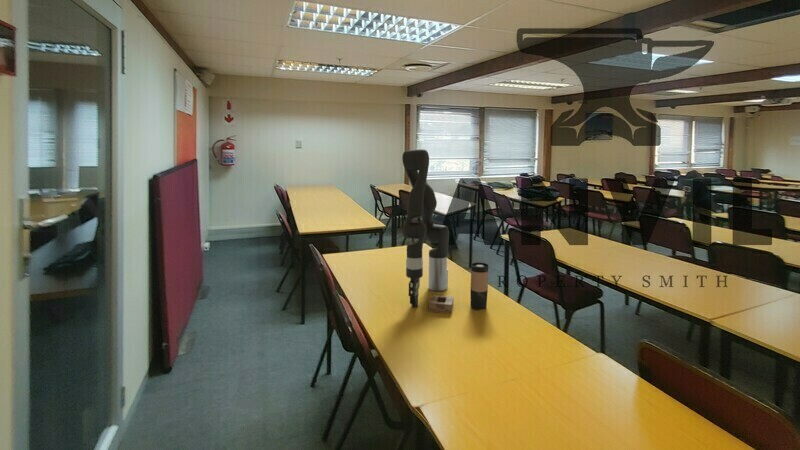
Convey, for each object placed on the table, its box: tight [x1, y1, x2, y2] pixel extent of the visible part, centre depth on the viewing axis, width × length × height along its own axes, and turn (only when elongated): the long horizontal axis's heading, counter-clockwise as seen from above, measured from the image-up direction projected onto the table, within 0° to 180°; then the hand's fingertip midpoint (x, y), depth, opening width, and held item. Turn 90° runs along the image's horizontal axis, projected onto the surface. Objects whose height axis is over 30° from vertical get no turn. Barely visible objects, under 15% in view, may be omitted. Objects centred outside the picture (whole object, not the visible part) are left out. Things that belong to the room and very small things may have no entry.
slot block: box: [428, 294, 455, 314], centre depth 186 cm, size 10×10×4 cm
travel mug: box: [470, 262, 489, 311], centre depth 186 cm, size 8×8×20 cm
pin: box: [411, 286, 419, 308], centre depth 188 cm, size 3×3×10 cm
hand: (414, 300), depth 188 cm, fingers open, 8 cm apart
